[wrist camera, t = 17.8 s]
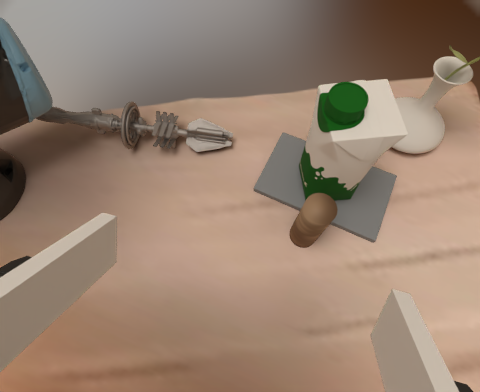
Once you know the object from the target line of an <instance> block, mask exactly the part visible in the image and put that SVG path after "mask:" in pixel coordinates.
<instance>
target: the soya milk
mask: <svg viewBox="0 0 480 392" xmlns="http://www.w3.org/2000/svg"><path fill="white" fill-rule="evenodd" d="M407 135H408V132H407V130H406V127H405V124H404V122H403V119H402V116H401V114H400V111H399V109H398V106H397V103H396V101H395V98H394V95H393V93H392V90H391V87H390V85H389V82H388V80H387V79H383V80H373V81H365V80H358V81H353V82H341V83H334V84H325V85H319V86H318V91H317V97H316V103H315V108H314V114H313V119H312V123H311V127H310V130H309V134H308V137H307V140H306V143H305V147H304V150H303V153H302V157H301V160H300V163H299V170H300V175H301V180H302V185H303V190H304V196H305V201H306V199H307V198H308V197H309V196H310V195H312V194H315V193H324V194H327V195H328V196H330V197H331V198H332V199H333V200H334V201H337V200H347V199H351V198H352V196H353V194H354V192H355V191H356V189H357V187H358V185H359V184H360V182H361V180H362V179H363V178H364V176H365V175H366V174H367V172H368V171H369V170H370V169H371V167H372V166H373V165H374V163H375V162H376V161H377V160H378V158H379V157H380V156H381V155H382V154H383V153H384V152H386V151H387V150H388V149H389V148H391V147H392V146H393V145H395V144H396V143H397V142H399V141H400V140H401V139H403V138H404V137H405V136H407Z"/></svg>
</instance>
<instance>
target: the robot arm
mask: <svg viewBox="0 0 480 392" xmlns="http://www.w3.org/2000/svg"><path fill="white" fill-rule="evenodd" d="M51 107H52V97H51V95H50V93H49V90H48V88H47V87H46V84H45V83H44V81H43V79H42V77H41V75H40V74H39V72H38V70H37V68H36V66H35V65H34V63H33V61H32V60H31V58H30V56H29V55H28V53H27V51H26V49H25V48H24V47H23V45H22V43H21V41H20V40H19V38H18V37H17V35H16V34H15V32H14V31H13V29H12V28H11V26H10V25H9V24H8V23H7V22H6V21H5V20H4V19H2V18H0V135H1V134H3V133H5V132H8V131H10V130H12V129H15V128H17V127H19V126H22V125H24V124H26V123H30V122H32V121H33V119H35V118H37V117H39V116H41V115H42V114H44V113H46V112H48V111H49V110H50V109H51ZM24 186H25V172H24V168H23V166H22V164H21V163H20V162H19V161H18V160H17V159H16V158H15V157H13V156H12V155H11V154H9V153H8V152H6V151H4V150H2V149H0V220H1V219H2V218H3V217H5V216H6V215H7V214H8V213H9V212H10V211H11V210H12V209H13V207H14V206H15V205H16V203H17V202H18V200H19V199H20V197H21V195H22V192H23V190H24ZM116 246H117V216H114V215H111V214H107V213H101V214H99V215H98V216H96V217H95V218H93V219H92V220H90V221H88V222H87V223H85V224H84V225H82V226H81V227H79V228H77V229H76V230H74V231H73V232H71V233H70V234H68V235H66V236H65V237H63V238H62V239H60V240H59V241H57V242H55V243H54V244H52V245H51V246H49V247H48V248H46V249H44V250H43V251H41V252H40V253H38V254H37V255H35V256H33V257H29V256H25V257H23V258H20V259H17V260H14V261H11V262H9V263H8V264H6V265H4V266H3V267H1V268H0V372H1V371H2V370H3V369H4V368H5V367H6V366H7V365H8V364H9V363H10V362H12V361H13V360H14V359H15V358H16V357H17V356H18V355H19V354H20V353H21V352H22V351H23V350H24V349H25V348H26V347H27V346H28V345H29V344H31V343H32V342H33V341H34V340H35V339H36V338H37V337H38V336H39V335H40V334H41V333H42V332H43V331H44V330H45V329H46V328H47V327H49V326H50V325H51V324H52V323H53V322H54V321H55V320H56V319H57V318H58V317H59V316H60V315H61V314H62V313H63V312H64V311H65V310H67V309H68V308H69V307H70V306H71V305H72V304H73V303H74V302H75V301H76V300H77V299H78V298H79V297H80V296H81V295H82V294H83V293H84V292H86V291H87V290H88V289H89V288H90V287H91V286H92V285H93V284H94V283H95V282H96V281H97V280H98V279H99V278H100V277H101V276H102V275H104V274H105V273H106V272H107V271H108V270H109V269H110V268H111V267H112V266H113V265H114V264H115V263H116ZM371 339H372V343H373V346H374V350H375V354H376V358H377V362H378V366H379V369H380V373H381V377H382V381H383V385H384V389H385V392H473V391H472V390H471V389H470V387H469V386H468V385H466V384H463V383H460V382H456V381H454V380H453V378H452V376H451V374H450V372H449V370H448V368H447V366H446V364H445V362H444V360H443V358H442V356H441V354H440V352H439V350H438V348H437V346H436V344H435V342H434V340H433V338H432V336H431V334H430V332H429V330H428V328H427V326H426V324H425V322H424V320H423V318H422V316H421V314H420V312H419V310H418V308H417V306H416V304H415V302H414V300H413V298H412V296H411V294H410V293H406V292H402V291H398V290H394V289H392V290H391V292H390V294H389V296H388V298H387V301H386V303H385V305H384V307H383V309H382V311H381V314H380V316H379V318H378V320H377V322H376V324H375V326H374V329H373V331H372V333H371Z"/></svg>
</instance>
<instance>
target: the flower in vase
mask: <svg viewBox="0 0 480 392" xmlns="http://www.w3.org/2000/svg"><path fill="white" fill-rule="evenodd" d="M450 50H452V48H451V46H450ZM452 52H453V53H454V55H455V56H456V57H457V58H456V57H442V58H440V59H438V60H437V61H436V62H435V63H434V67H433V68H434V78H433V80H432V83H431V85H430V86H429V88H428V90H427V91H426V93H425V94H424V95H423V96H422V97H421V98H420V99H418V98H413V97H401V98H396V99H395V101H396V103H397V106H398V109H399V111H400V114H401V116H402V119H403V122H404V124H405V127H406V130H407V132H408V135H407V136H405V137H404V138H403V139H401V140H400V141H399V142H397V143H396V144H395V145H393V146H392V148H394V149H396V150H398V151H401V152H405V153H412V154H418V153H425V152H429V151H431V150H433V149H435V148H436V147H437V146H438V145H439V144H440V143H441V141H442V139H443V136H444V133H445V124H444V121H443V118H442V116H441V114H440V113H439V111H438V110H437V109H436V108H435V107H434V106H435V105H436V103H437V102H438V101H439V100H440V99H441V97H442V96H443V95H445V94H446V93H447V92H448V91H449V90H450V89H452V88H453V87H455V86H458V85H462V84H465V83H467V82H469V81H470V80H471V79H472V76H473V71H472V68H471V67H470V64H472V63H474V62H476V61H478V60H480V57H478V58H476V59H474V60H472V61H470V62H467V61H466V59H465V58H464V56H463V55H461V54H460V53H459V52H457V51H455V50H452Z"/></svg>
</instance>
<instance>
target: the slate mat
mask: <svg viewBox="0 0 480 392" xmlns="http://www.w3.org/2000/svg"><path fill="white" fill-rule="evenodd" d="M305 143H306V141H304V140H302V139H299V138H297V137H294V136H291V135H289V134H286V133H282V135H281V137H280V139H279V141H278V143H277V145H276V146H275V148H274V150H273V152H272V154H271V156H270V158H269V160H268V162H267V164H266V166H265V168H264V169H263V171H262V173H261V175H260V177H259V179H258V181H257V183H256V185H255V187H254V191H255V192H258V193H260V194H262V195H265V196H267V197H269V198H271V199H274V200H276V201H278V202H281V203H283V204H285V205H288V206H290V207H292V208H295V209H297V210H299V211H300V210H301V208H302V206H303V205H304V203H305V196H304V190H303V185H302V180H301V175H300V170H299V163H300V160H301V157H302V153H303V150H304V147H305ZM396 177H397V176H396V175H394V174H391V173H388V172H386V171H383V170H381V169H378V168H375V167H373V166H372V167H371V169H370V170H369V171H368V172H367V174H366V175H365V176H364V178H363V179H362V180H361V182H360V184H359V185H358V187H357V189H356V191H355V192H354V194H353V196H352V198H351V199H347V200H337V201H335V203H336V205H337V209H338V211H337V215H336V217H335V219H334V220H333V221H332V222H331V223H330V224H331V225H334V226H336V227H338V228H341V229H343V230H345V231H348V232H350V233H352V234H354V235H357V236H359V237H361V238H364V239H366V240H368V241H371V242H375V241H376V238H377V235H378V232H379V229H380V226H381V223H382V220H383V217H384V214H385V211H386V208H387V204H388V201H389V198H390V195H391V192H392V189H393V186H394V183H395V180H396Z"/></svg>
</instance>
